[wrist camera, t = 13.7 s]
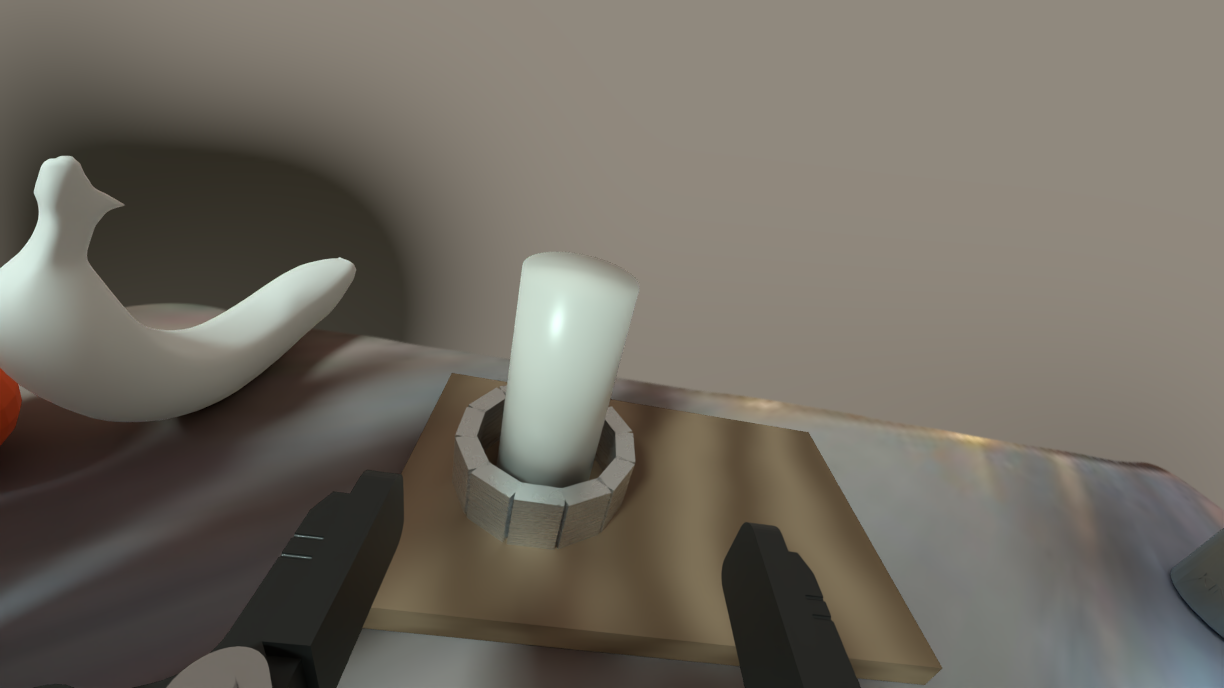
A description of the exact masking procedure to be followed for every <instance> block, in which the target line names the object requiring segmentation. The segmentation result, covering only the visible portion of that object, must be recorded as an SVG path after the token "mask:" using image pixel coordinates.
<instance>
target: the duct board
mask: <svg viewBox="0 0 1224 688" xmlns="http://www.w3.org/2000/svg"><path fill="white" fill-rule="evenodd" d="M505 385H507V382H503V381H497V380H491V379H485V378H479V377H473V376H467V375H461V374H455V373H452V374H451V376H450V378H449V380H448V382H447V384H446V386H445V388H444V390H443V392H442V394H441V396H440V398H439V400H438V402H437V404H436V406H435V408H434V410H433V412H432V414H431V416H430V418H429V420H428V422H427V424H426V426H425V428H424V430H423V432H422V434H421V436H420V438H419V440H418V442H417V443H416V445H415V447H414V449H413V451H412V453H411V455H410V457H409V459H408V461H407V463H406V465H405V467H404V469H403V471H402V473H401V475H402V476H403V489H404V524H403V530H402V534H401V538H400V541H399V544H398V547H397V549H396V551H395V554H394V556H393V558H392V561H391V563H390V565H389V568H388V570H387V572H386V574H385V577H384V579H383V581H382V584H381V586H380V588H379V591H378V593H377V595H376V597H375V600H374V602H373V604H372V607H371V609H370V611H369V614H368V616H367V618H366V620H365V623H364V625H363V627H362V628H367V629H377V630H387V631H397V632H407V633H417V634H426V635H436V636H446V637H456V638H466V639H476V640H486V641H496V642H506V643H515V644H525V645H535V646H545V647H555V648H565V649H575V650H585V651H594V652H604V653H614V654H624V655H634V656H644V657H654V658H664V659H674V660H683V661H693V662H703V663H713V664H723V665H733V666H740V664H739V660H738V655H737V651H736V646H735V642H734V637H733V633H732V628H731V624H730V619H729V615H728V610H727V606H726V602H725V597H724V593H723V588H722V580H721V573H722V565H723V561H724V559H725V557H726V555H727V553H728V551H729V549H730V547H731V545H732V543H733V541H734V539H735V537H736V535H737V533H738V531H739V530H740V528H741V526H742V524H743V523H745V522H750V523H757V524H765V525H772V526H776V527H778V528H779V529H780V531H781V533H782V535H783V538H784V541H785V543H786V546H787V549H788V551H790V552H798V554H799V555H800V556H801V558H802V559H803V560H804V561H805V563H806V564H807V565H808V567H809V568H810V569H811V570H812V572H813V573H814V575H815V577H816V580H817V582H818V585H819V587H820V590H821V592H822V595H823V601H825V602H826V604H827V607H828V609H829V612H830V614H831V620H832V621H834V624H835V626H836V629H837V631H838V633H839V636H840V638H841V641H842V643H843V646H844V648H845V651H846V653H847V655H848V658H849V660H850V663H851V665H852V668H853V670H854V672H855V675H856V677H857V678H861V679H871V680H881V681H891V682H901V683H911V684H921V685H925V684H926V683H927V682H928V681H929V680H930V679H931V678H932V677H934V676H935V675H936V674H937V673H938V672H939V671H940V670H941V669H942V667H941V665H940V663H939V661H938V660H937V658H936V656H935V654H934V653H933V651H932V649H931V647H930V645H929V644H928V642H927V640H926V638H925V637H924V635H923V633H922V631H921V630H920V628H919V626H918V624H917V623H916V621H915V619H914V617H913V616H912V614H911V612H910V610H909V608H908V607H907V605H906V603H905V601H904V600H903V598H902V596H901V594H900V593H899V591H898V589H897V587H896V586H895V584H894V582H893V580H892V579H891V577H890V575H889V573H888V572H887V570H886V568H885V566H884V564H883V563H882V561H881V559H880V557H879V556H878V554H877V552H876V550H875V549H874V547H873V545H872V543H871V542H870V540H869V538H868V536H867V535H866V533H865V531H864V529H863V527H862V526H861V524H860V522H859V520H858V519H857V517H856V515H855V513H854V512H853V510H852V508H851V506H850V505H849V503H848V501H847V499H846V498H845V496H844V494H843V492H842V491H841V489H840V487H839V485H838V483H837V482H836V480H835V478H834V476H833V475H832V473H831V471H830V469H829V468H828V466H827V464H826V462H825V461H824V459H823V457H822V455H821V454H820V452H819V450H818V448H817V446H816V445H815V443H814V441H813V439H812V438H811V436H810V434H809V432H803V431H797V430H791V429H785V428H779V427H773V426H767V425H761V424H755V423H749V422H743V421H737V420H731V419H725V418H719V417H713V416H707V415H701V414H695V413H689V412H683V411H677V410H671V409H665V408H659V407H653V406H647V405H641V404H635V403H629V402H623V401H617V400H611V399H610V402H609V407H611V406H612V407H613V408H614V409H615V411H616V412H617V413H618V414H619V416H620V417H621V418H622V419H623V420H624V422H625V423H626V424H627V425H628V427H629V428H630V429H631V430H632V432H631V433H633V438H634V451H635V465H634V468H633V471H632V474H631V477H630V480H629V484H628V487H627V490H626V493H625V496H624V499H623V502H622V505H621V507H620V508H619V509H618V511H617V512H616V513H615V515H614V516H613V517H612V519H611V520H610V521H609V523H608V524H607V525H606V527H605V528H604V529H603V531H602V532H599V534H598V535H596V536H594V537H591V538H588V539H586V540H583V541H580V542H577V543H575V544H572V545H569V546H566V547H564V548H561V549H558V548H557V546H556V544H555V547H554V550H550V549H542V548H534V547H526V546H518V545H510V544H507V539H508V537H507V538H506V540H505V541H504V542H501V541H500V540H498V539H497V538H495V537H494V536H492V535H491V534H490V533H488V532H487V531H485V530H484V529H482V528H481V527H480V526H478V525H477V524H475V523H474V522H472V521H471V520H470V519H468V518H467V514H465V515H464V512H463V509H462V507H461V504H460V501H459V499H458V496H457V493H456V491H455V488H454V485H453V482H452V475H453V460H454V446H455V434H456V432H457V429H458V427H459V424H460V422H461V419H462V417H463V415H464V412H465V410H466V407H468V406H469V404H471V403H472V402H474V401H475V400H477V399H479V398H480V397H482V396H483V395H485V394H487V393H488V392H490V391H492V390H493V389H495V388H496V387H497V388H499V387H500V386H505ZM499 443H500V440H498V441H497V442H496V443H494V444H493V445H492V446H490V447H489V448H488V449H486V450H485V451H484V452H485V454H486V456H487V459H488V461H489V462H490V463H491V464H493V465H494V466H497V458H498V451H499ZM602 472H603V470H602V468H601V467H600V466H599V464H598V463H597V461H596V460H595V458H594V462H593V466H592V470H591V473H590V477H589V480H593V479H596V478H598V477H599V476H600V475H601V474H602Z"/></svg>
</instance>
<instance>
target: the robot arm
mask: <svg viewBox="0 0 1224 688" xmlns="http://www.w3.org/2000/svg"><path fill="white" fill-rule="evenodd" d="M403 524H404V489H403V476H402V475H401V474H394V473H387V472H379V471H372V470H366V471H365V472H363V474H362V475H361V476H360V478H359V480H358V481H357V483H356V485H355V486H354V488H353V490H352V491H351V493H350V494H349V493H341V492H332V493H331V494H330V495H329V496H327V497H326V498H325V499H323V500H322V501H321V502H320V503H318V504H317V505H316V506H315V507H313V508H312V509H311V510H310V511H309V513H308V514H307V516H306V517H305V519H304V520H303V522H302V523H301V525H300V526H299V528H298V529H297V531H296V532H295V535H294V537H293V538H291V540H290V541H289V543H288V544H287V546H286V547H285V549H284V550H283V552H282V555H281V557H279V558H278V559H277V561H276V562H275V564H274V565H273V567H272V568H271V570H270V571H269V573H268V574H267V576H266V577H265V579H264V580H263V582H262V583H261V585H260V586H259V588H258V589H257V591H256V592H255V594H254V595H253V597H252V598H251V600H250V601H249V603H248V604H247V606H246V607H245V609H244V610H243V612H242V613H241V615H240V616H239V618H238V619H237V621H236V622H235V624H234V625H233V627H232V628H231V630H230V631H229V632H228V634H227V635H226V636H225V638H224V639H223V640H222V641H221V642H220V644H219V645H218V646H217V647H216V648H215V649H214V650H213V651H211V652H210V653H209V654H208V655H206V656H204V657H202V658H200V659H198V660H197V661H195V662H193V663H192V664H190V665H189V666H188V667H187V668H185V669H184V670H183V671H182V672H181V673H179V674H177V675H175V676H172V677H170V678H167V679H165V680H162V681H158V682H155V683H151V684H147V685H143V686H138V687H134V688H336V687H337V685H338V683H339V680H340V678H341V676H342V673H343V671H344V669H345V667H346V664H347V662H348V660H349V657H350V655H351V653H352V650H353V648H354V646H355V644H356V641H357V639H358V637H359V634H360V632H361V630H362V627H363V625H364V623H365V620H366V618H367V616H368V614H369V611H370V609H371V607H372V604H373V602H374V600H375V597H376V595H377V593H378V591H379V588H380V586H381V584H382V581H383V579H384V577H385V574H386V572H387V570H388V568H389V565H390V563H391V561H392V558H393V556H394V554H395V551H396V549H397V547H398V544H399V541H400V538H401V534H402V530H403ZM1171 578H1172V581H1173V584H1174V586H1175V587H1176V589H1177V590H1178V592H1179V594H1180V595H1181V596H1182V598H1183V599H1184V600H1185V601H1186V602H1187V604H1188V605H1189V606H1190V607H1191V608H1192V609H1193V610H1194V611H1195V612H1196V613H1197V614H1198V615H1199V616H1200V617H1201V618H1202V619H1203V620H1204V621H1205V622H1206V623H1207V624H1208V625H1209V626H1210V627H1211V628H1213V629H1214V630H1215V631H1216V632H1217V633H1218V634H1220V635H1221V636H1222V637H1223V638H1224V528H1223V529H1222V530H1220V531H1219V532H1218V533H1216V534H1215V535H1214V536H1213V537H1211V538H1210V539H1209V540H1208V541H1206V542H1205V543H1204V544H1203V545H1201V546H1200V547H1199V548H1198V549H1196V550H1195V551H1194V552H1193V553H1191V554H1190V555H1189V556H1188V557H1186V558H1185V559H1184V560H1183V561H1181V562H1180V563H1179V564H1178V565H1176V566H1175V567H1174V568H1173V569H1172V570H1171ZM721 580H722V588H723V593H724V597H725V602H726V606H727V610H728V615H729V619H730V624H731V628H732V633H733V637H734V642H735V646H736V651H737V655H738V660H739V664H740V668H741V673H742V677H743V682H744V686H745V688H861V687H860V685H859V682H858V680H857V677H856V675H855V672H854V670H853V668H852V665H851V663H850V660H849V658H848V655H847V653H846V651H845V648H844V646H843V643H842V641H841V638H840V636H839V633H838V631H837V629H836V626H835V624H834V621H832V620H831V614H830V612H829V609H828V607H827V604H826V602H825V601H823V595H822V592H821V590H820V587H819V585H818V582H817V580H816V577H815V575H814V573H813V572H812V570H811V569H810V568H809V567H808V565H807V564H806V563H805V561H804V560H803V559H802V558H801V556H800V555H799V554H798V552H790V551H788V549H787V546H786V543H785V541H784V538H783V535H782V533H781V531H780V529H779V528H778V527H776V526H772V525H765V524H757V523H750V522H745V523H743V524H742V526H741V528H740V530H739V531H738V533H737V535H736V537H735V539H734V541H733V543H732V545H731V547H730V549H729V551H728V553H727V555H726V557H725V559H724V561H723V565H722V573H721ZM34 688H74V687H71V686H68V685H62V684H51V685H43V686H38V687H34Z"/></svg>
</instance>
